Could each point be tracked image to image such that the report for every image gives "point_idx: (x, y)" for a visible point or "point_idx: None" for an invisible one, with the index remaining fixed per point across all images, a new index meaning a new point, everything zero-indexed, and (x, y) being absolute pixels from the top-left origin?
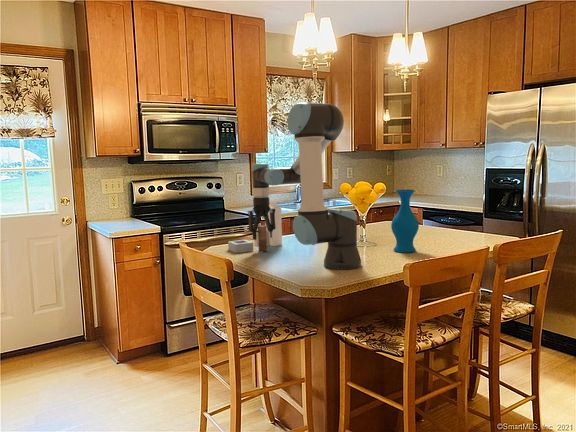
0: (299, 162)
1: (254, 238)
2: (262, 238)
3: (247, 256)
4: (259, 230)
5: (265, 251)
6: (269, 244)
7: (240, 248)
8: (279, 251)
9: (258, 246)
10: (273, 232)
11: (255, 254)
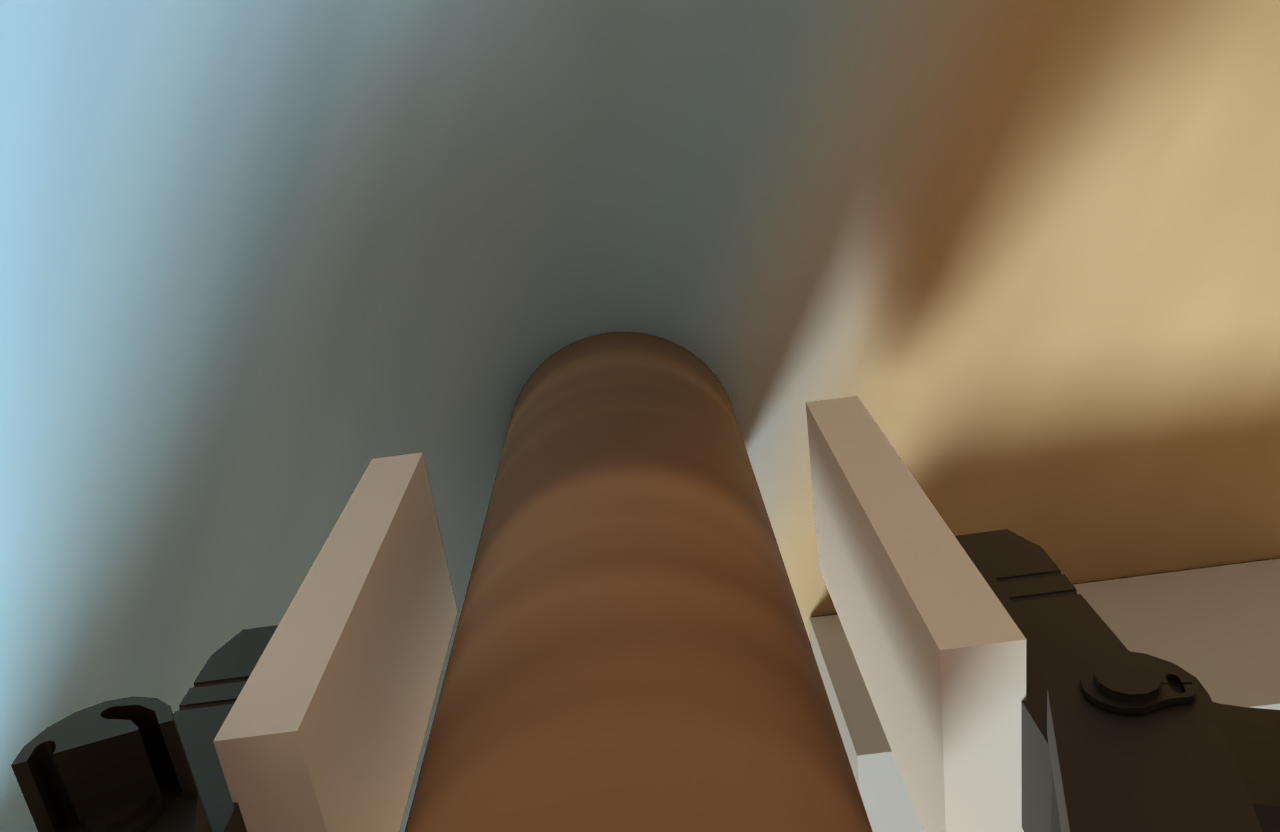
0: None
1: (1023, 550)
2: (687, 495)
3: (1260, 4)
4: (852, 790)
5: (581, 342)
6: (406, 463)
7: (1216, 626)
8: (192, 212)
9: (809, 402)
10: None
11: (951, 156)
